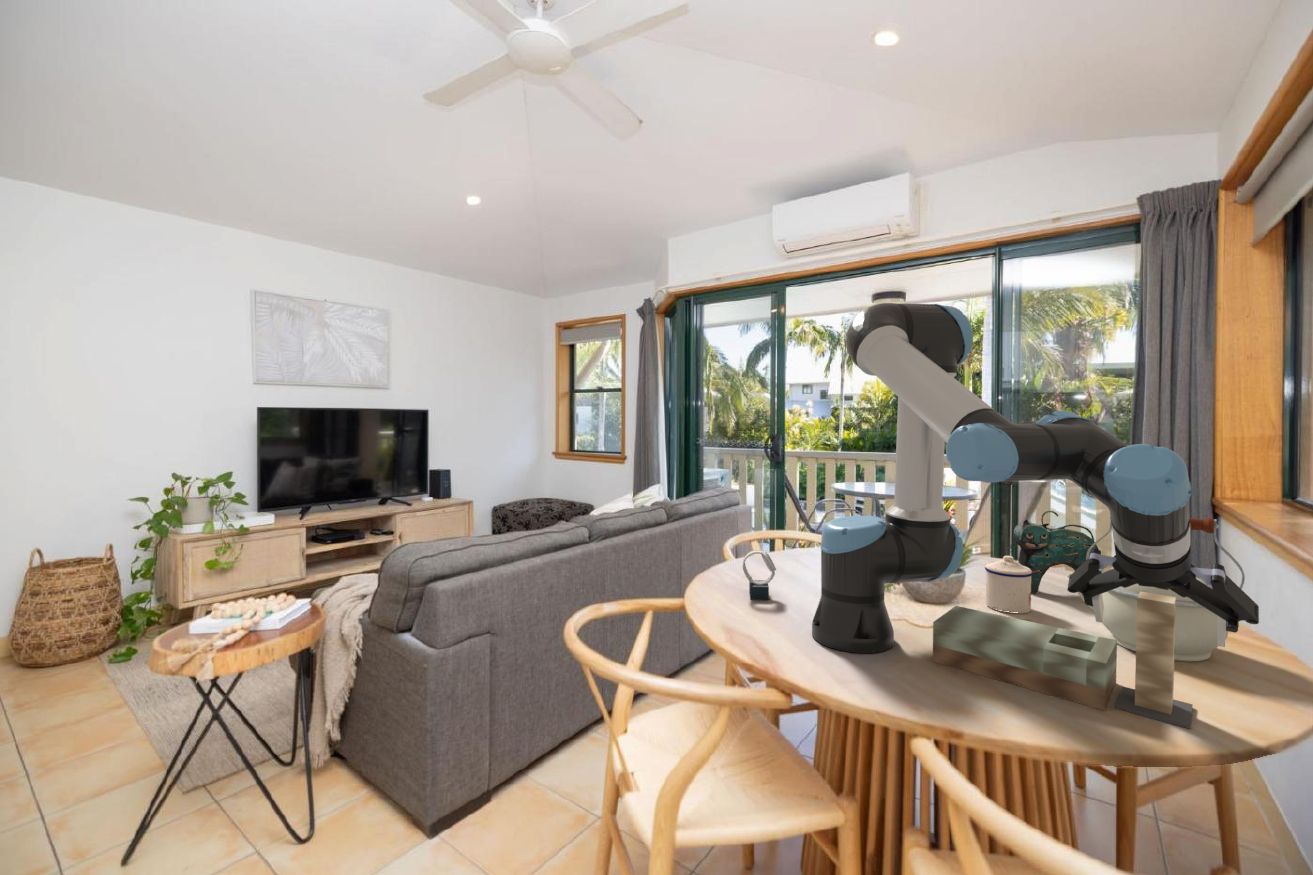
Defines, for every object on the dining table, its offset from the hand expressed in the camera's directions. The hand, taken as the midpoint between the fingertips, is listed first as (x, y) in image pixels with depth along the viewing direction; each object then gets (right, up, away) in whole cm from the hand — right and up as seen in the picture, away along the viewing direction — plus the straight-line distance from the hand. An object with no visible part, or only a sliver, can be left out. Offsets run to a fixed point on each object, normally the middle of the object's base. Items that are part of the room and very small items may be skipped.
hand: (1157, 625), depth 85 cm
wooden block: (-2, -11, -1) cm, 11 cm away
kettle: (+18, -11, +22) cm, 30 cm away
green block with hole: (-14, -11, +11) cm, 21 cm away
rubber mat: (-2, -12, -1) cm, 12 cm away
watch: (-50, -10, +52) cm, 73 cm away
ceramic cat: (+23, -10, +55) cm, 60 cm away
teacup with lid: (+4, -10, +44) cm, 45 cm away
